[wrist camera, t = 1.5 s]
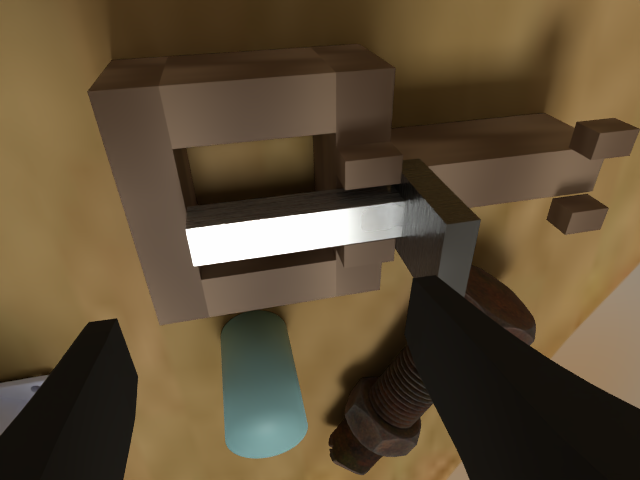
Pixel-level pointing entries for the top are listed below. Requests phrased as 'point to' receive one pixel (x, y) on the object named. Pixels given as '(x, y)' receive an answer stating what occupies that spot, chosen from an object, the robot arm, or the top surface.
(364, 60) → the mount
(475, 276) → the bolt
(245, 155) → the top surface
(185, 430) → the top surface
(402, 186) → the lock bar
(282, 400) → the dowel
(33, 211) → the top surface
